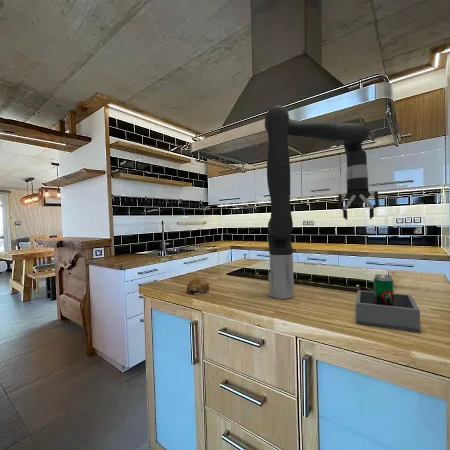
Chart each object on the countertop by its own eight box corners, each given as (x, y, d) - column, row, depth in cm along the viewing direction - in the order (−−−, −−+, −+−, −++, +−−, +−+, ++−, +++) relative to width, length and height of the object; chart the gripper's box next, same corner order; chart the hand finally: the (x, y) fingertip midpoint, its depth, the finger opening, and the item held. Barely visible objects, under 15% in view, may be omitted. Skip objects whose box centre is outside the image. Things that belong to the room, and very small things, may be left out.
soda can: (376, 310, 81) (375, 273, 81) (395, 314, 78) (394, 275, 78) (372, 315, 78) (371, 276, 77) (392, 319, 74) (391, 278, 74)
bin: (356, 323, 75) (355, 303, 75) (358, 307, 88) (357, 290, 88) (420, 332, 67) (419, 310, 67) (411, 313, 80) (411, 294, 80)
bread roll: (211, 299, 115) (215, 282, 118) (195, 294, 108) (200, 276, 111) (196, 295, 122) (201, 279, 124) (180, 291, 115) (186, 273, 117)
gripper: (336, 179, 101) (337, 220, 101) (378, 174, 94) (379, 218, 94) (338, 181, 107) (339, 219, 107) (377, 177, 100) (379, 218, 100)
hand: (358, 219), depth 101 cm, fingers open, 8 cm apart
